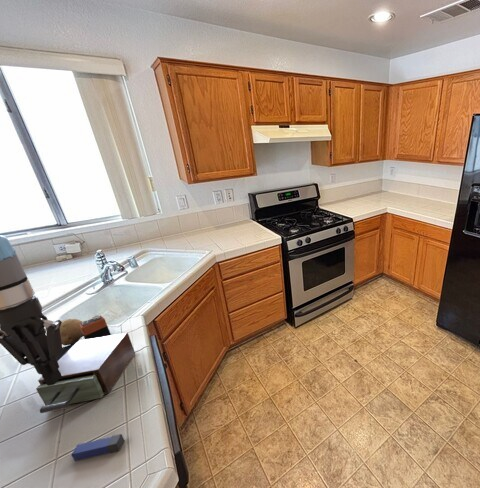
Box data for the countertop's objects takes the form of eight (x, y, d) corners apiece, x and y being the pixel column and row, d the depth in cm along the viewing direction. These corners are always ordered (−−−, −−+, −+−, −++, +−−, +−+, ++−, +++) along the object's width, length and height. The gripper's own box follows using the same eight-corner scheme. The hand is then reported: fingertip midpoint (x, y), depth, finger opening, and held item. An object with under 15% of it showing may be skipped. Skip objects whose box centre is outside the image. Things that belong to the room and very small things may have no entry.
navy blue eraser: (74, 461, 59) (70, 454, 59) (81, 450, 62) (77, 443, 61) (119, 450, 61) (116, 443, 60) (124, 440, 63) (121, 433, 62)
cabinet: (109, 393, 76) (98, 369, 73) (51, 405, 74) (37, 380, 71) (135, 353, 92) (127, 332, 89) (88, 362, 89) (78, 340, 86)
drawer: (88, 416, 69) (78, 395, 66) (29, 429, 66) (16, 408, 64) (128, 358, 89) (121, 340, 86) (83, 366, 86) (75, 348, 84)
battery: (112, 338, 101) (103, 316, 98) (90, 348, 96) (80, 325, 93) (108, 334, 103) (100, 312, 100) (86, 344, 98) (76, 322, 95)
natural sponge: (90, 331, 106) (81, 310, 103) (92, 341, 100) (83, 319, 97) (60, 342, 100) (49, 321, 97) (60, 354, 94) (49, 331, 91)
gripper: (57, 289, 64) (92, 364, 72) (-6, 298, 62) (37, 375, 70) (32, 305, 58) (73, 387, 65) (-40, 316, 55) (12, 399, 63)
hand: (54, 380), depth 68 cm, fingers closed
